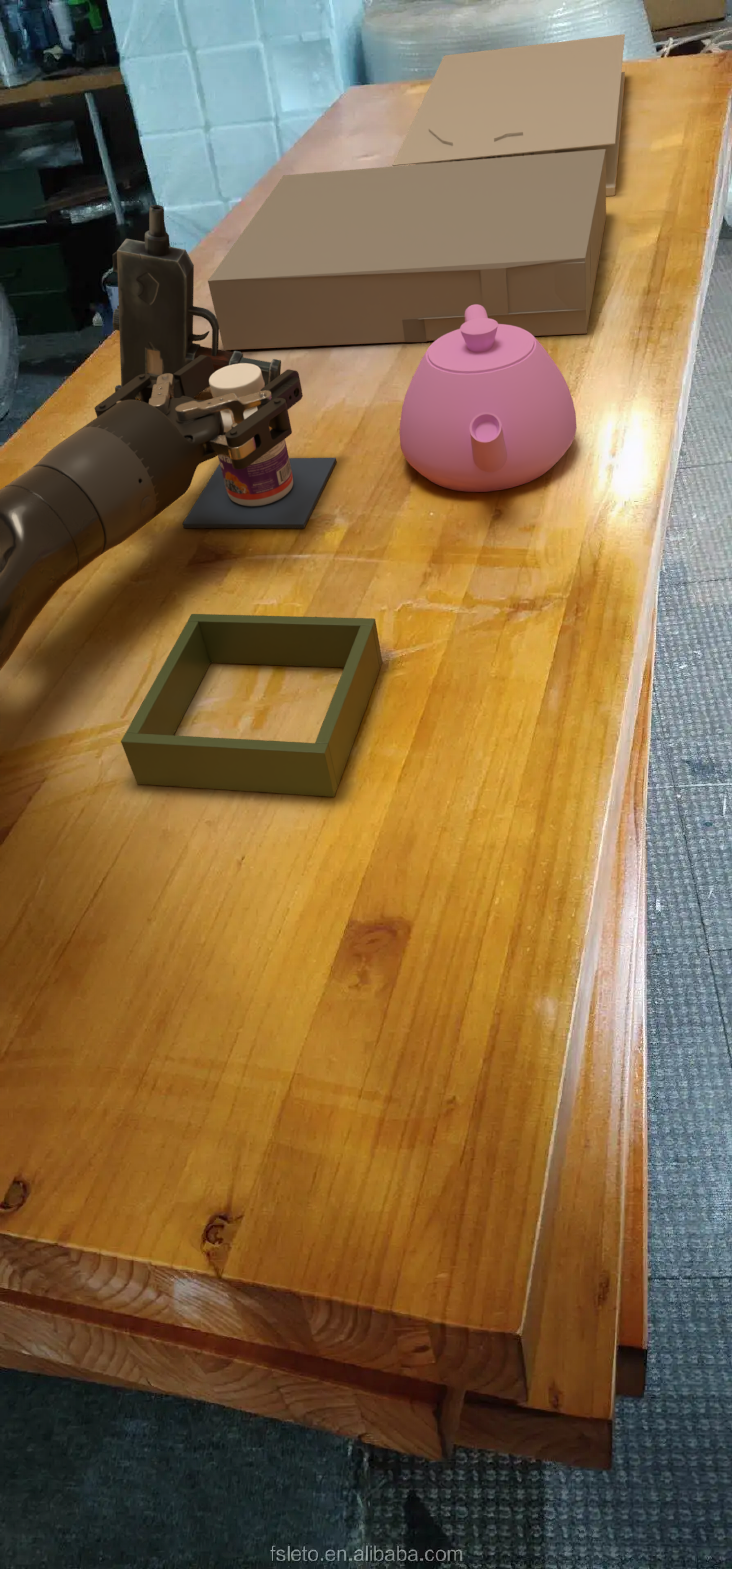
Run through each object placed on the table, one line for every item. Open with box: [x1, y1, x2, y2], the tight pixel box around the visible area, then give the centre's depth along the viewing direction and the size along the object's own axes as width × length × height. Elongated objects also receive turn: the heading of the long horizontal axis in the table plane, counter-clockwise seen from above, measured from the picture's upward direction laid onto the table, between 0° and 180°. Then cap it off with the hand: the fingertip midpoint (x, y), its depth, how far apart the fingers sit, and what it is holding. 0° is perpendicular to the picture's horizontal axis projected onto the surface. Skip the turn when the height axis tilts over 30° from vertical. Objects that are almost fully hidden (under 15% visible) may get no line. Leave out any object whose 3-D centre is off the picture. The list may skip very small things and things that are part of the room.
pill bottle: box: [209, 363, 293, 506], centre depth 92 cm, size 5×5×10 cm
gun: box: [112, 204, 282, 400], centre depth 105 cm, size 3×17×15 cm
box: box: [207, 149, 607, 351], centre depth 120 cm, size 35×29×7 cm
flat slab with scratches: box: [392, 33, 626, 197], centre depth 149 cm, size 45×24×6 cm, turn 170°
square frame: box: [120, 613, 383, 798], centre depth 74 cm, size 13×13×4 cm
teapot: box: [398, 304, 577, 493], centre depth 91 cm, size 14×20×11 cm
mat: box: [182, 457, 337, 529], centre depth 96 cm, size 10×10×1 cm
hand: (252, 374), depth 91 cm, fingers open, 8 cm apart
